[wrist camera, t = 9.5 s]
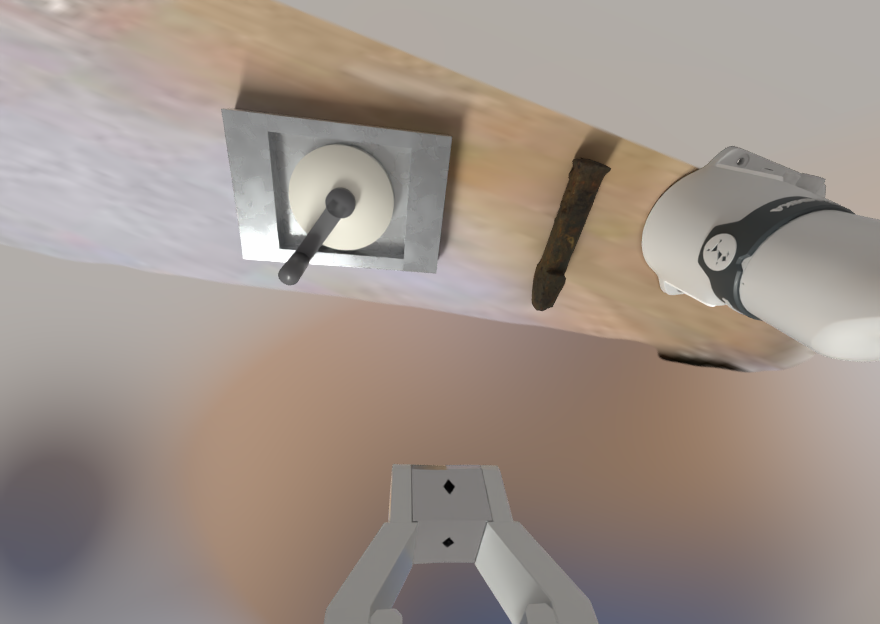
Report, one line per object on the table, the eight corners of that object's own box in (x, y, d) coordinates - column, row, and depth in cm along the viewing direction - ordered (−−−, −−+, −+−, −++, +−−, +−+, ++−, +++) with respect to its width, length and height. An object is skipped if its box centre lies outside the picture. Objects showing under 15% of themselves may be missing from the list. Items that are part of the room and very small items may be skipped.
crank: (413, 190, 41) (415, 206, 35) (341, 282, 46) (330, 312, 39) (329, 119, 37) (312, 121, 31) (259, 228, 42) (231, 250, 35)
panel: (449, 134, 40) (452, 137, 37) (434, 268, 47) (435, 278, 45) (234, 108, 37) (220, 108, 34) (254, 254, 45) (244, 264, 42)
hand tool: (569, 153, 42) (586, 158, 38) (600, 162, 43) (620, 168, 39) (513, 298, 51) (522, 314, 47) (539, 303, 51) (550, 320, 47)
